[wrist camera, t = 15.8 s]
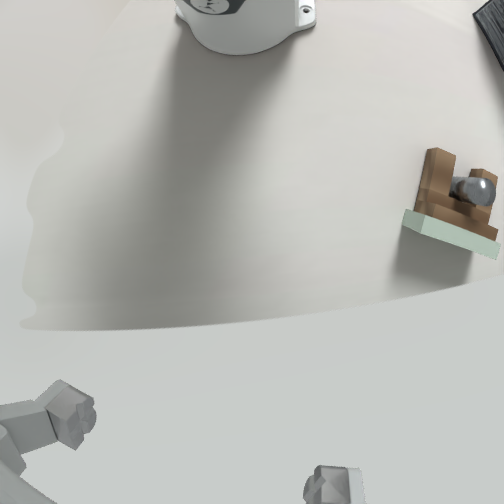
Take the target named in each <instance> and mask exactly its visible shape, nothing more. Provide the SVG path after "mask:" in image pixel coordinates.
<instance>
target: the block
mask: <svg viewBox="0 0 504 504" xmlns="http://www.w3.org/2000/svg"><path fill="white" fill-rule="evenodd" d="M455 160H456V155H453V154H451V153H449V152H447V151H444V150H442V149H440V148H432V149H427V153H426V159H425V164H424V169H423V174H422V178H421V183H420V188H419V192H418V196H417V200H416V204H415V208H414V211H415V212H418V213H421V214H424V215H427V216H430V217H433V218H435V219H438V220H441V221H444V222H446V223H449V224H452V225H455V226H457V227H460V228H462V229H465V230H468V231H470V232H473V233H475V234H478V235H480V236H483V237H485V238H488V239H490V240H492V241H495V240H496V236H497V233H498V229H496V228H494V227H492V226H489V225H488V222H489V218H490V214H491V209H492V205H493V203H492V204H491V205H490V206H487V207H486V206H481V205H475V204H470V203H463V202H461V201H458V200H456V199H454V198H451V197H449V196H448V195H449V190H450V186H451V181H452V176H453V171H454V165H455ZM470 177H474V178H488V179H490V180H491V181H492V182H493V184H494V186H495V189H496V185H497V179H498V177H497V176H496V175H494V174H492V173H490V172H488V171H486V170H484V169H471V173H470Z"/></svg>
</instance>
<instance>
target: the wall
mask: <svg viewBox="0 0 504 504" xmlns="http://www.w3.org/2000/svg"><path fill="white" fill-rule="evenodd" d="M402 225H404V226H406V227H408V228H410V229H412V230H414V231H416V232H418V233H421V234H424V235H427V236H430V237H433V238H436V239H439V240H442V241H445V242H448V243H451V244H454V245H456V246H459V247H462V248H465V249H468V250H471V251H473V252H476V253H479V254H482V255H484V256H487V257H490V258H492V259H495V260H496V259H497V256H498V253H499V249H500V246H501V244H500V243H497V242H495V241H492V240H490V239H488V238H485V237H483V236H480V235H478V234H475V233H473V232H470V231H468V230H465V229H462V228H460V227H457V226H455V225H452V224H449V223H446V222H444V221H441V220H438V219H435V218H433V217H430V216H427V215H424V214H421V213H418V212H415V211H411V210H408V209H406V211H405V215H404V218H403V222H402Z"/></svg>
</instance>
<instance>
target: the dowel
mask: <svg viewBox="0 0 504 504" xmlns="http://www.w3.org/2000/svg"><path fill="white" fill-rule="evenodd" d="M448 196H449V197H451V198H454V199H456V200H458V201H461V202H465V203H470V204H475V205H481V206H486V207H487V206H490V205H491V204H492V203H493V202H494V200H495V197H496V189H495V186H494V184H493V182H492V181H491V180H490V179H488V178H474V177H452V181H451V186H450V190H449V195H448Z"/></svg>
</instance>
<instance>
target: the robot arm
mask: <svg viewBox="0 0 504 504" xmlns="http://www.w3.org/2000/svg"><path fill="white" fill-rule="evenodd" d="M174 1H175V3H176V4H177V6H176V8H175V12H176V14H177V15H178V17H180V18H181V19H182V20H184V21H185V22H187V23H188V24H189V26H190V28H191V31H192V33H193V35H194V36H195V38H196V39H197V40H198V41H199V42H200V43H201V44H202V45H203V46H205V47H207V48H208V49H210V50H213V51H215V52H218V53H222V54H229V55H246V54H253V53H257V52H261V51H264V50H267V49H269V48H271V47H273V46H275V45H277V44H279V43H280V42H282V41H283V40H284V39H286V38H287V37H288V36H289V35H291V34H292V33H294V32H297V31H301V30H304V29H308V28H310V27H312V26H314V25H315V24H316V7H315V0H174ZM304 11H308V12H309V13H304ZM93 405H94V400H93V398H92V397H90V396H89V395H87V394H85V393H83V392H81V391H80V390H78V389H76V388H74V387H72V386H71V385H69V384H68V383H66V382H64V381H62V380H57V381H55V382H54V383H53V384H52V385H51V386H50V387H49V388H48V389H47V390H46V391H45V392H44V393H42V394H41V395H40V396H39V397H38V398H37V399H36V400H35V401H32V400H27V401H22V402H16V403H11V404H5V405H0V504H57V503H55V502H54V501H52V500H50V499H49V498H48V497H46V496H45V495H44V494H42V493H41V492H39V491H38V490H37V489H35V488H34V487H32V486H31V485H30V484H28V483H27V482H26V481H25V480H23V479H22V478H21V477H20V475H21V473H22V472H23V471H24V470H25V468H26V463H25V462H24V460H23V458H22V457H21V454H24V453H27V452H30V451H33V450H35V449H38V448H41V447H44V446H46V445H49V444H52V443H55V442H57V440H58V441H60V442H62V443H63V444H65V445H67V446H68V447H70V448H72V449H74V450H76V449H77V448H78V447H79V445H80V444H81V443H82V442H83V440H84V434H86V433H89V432H90V431H91V430H92V428H93V427H94V425H95V422H96V412H95V410H94V409H93V407H92V406H93ZM303 498H304V500H305V501H306V502H307V503H306V504H365V496H364V488H363V481H362V474H361V470H360V469H359V468H345V467H335V466H322V465H319V466H317V467H316V469H315V470H314V475H312V476H310V477H309V478H308V480H307V482H306V484H305V487H304V493H303Z"/></svg>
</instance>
